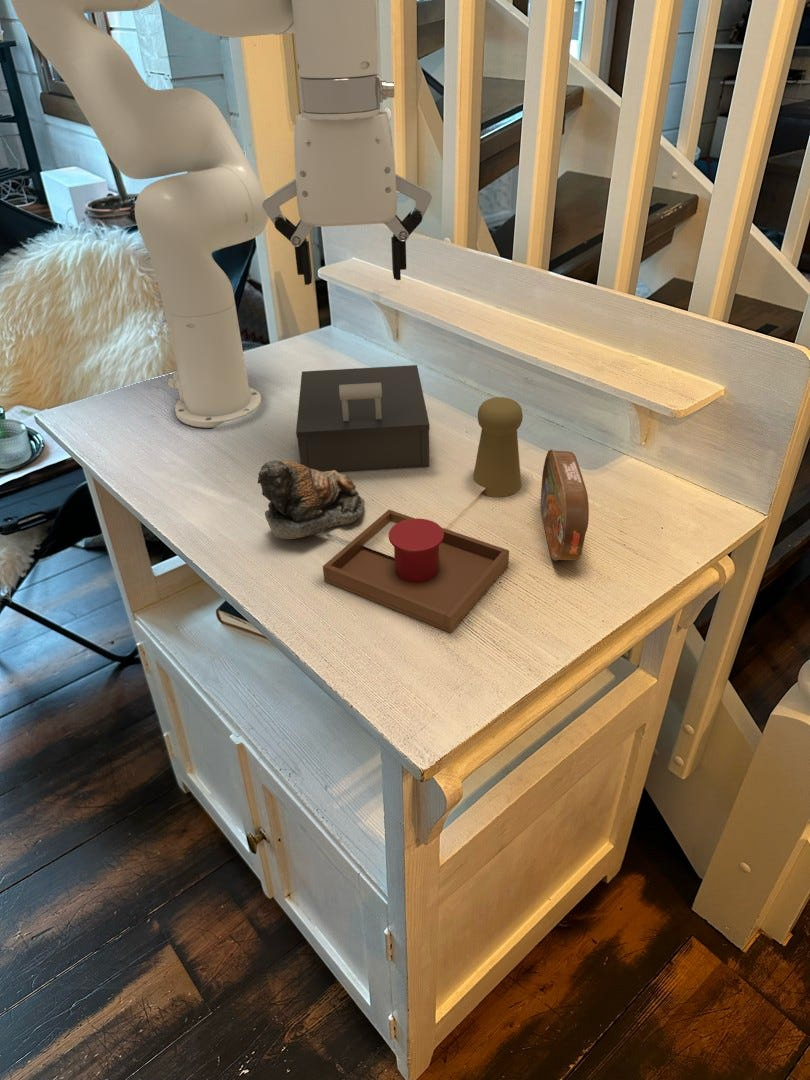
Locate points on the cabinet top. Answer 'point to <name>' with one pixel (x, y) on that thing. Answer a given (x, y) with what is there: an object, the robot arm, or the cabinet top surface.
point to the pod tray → (433, 601)
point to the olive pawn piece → (498, 447)
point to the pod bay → (365, 451)
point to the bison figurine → (307, 499)
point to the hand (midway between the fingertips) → (352, 278)
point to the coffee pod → (416, 549)
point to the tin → (564, 505)
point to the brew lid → (361, 401)
